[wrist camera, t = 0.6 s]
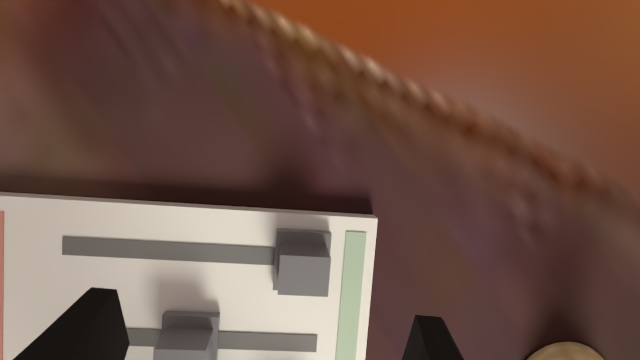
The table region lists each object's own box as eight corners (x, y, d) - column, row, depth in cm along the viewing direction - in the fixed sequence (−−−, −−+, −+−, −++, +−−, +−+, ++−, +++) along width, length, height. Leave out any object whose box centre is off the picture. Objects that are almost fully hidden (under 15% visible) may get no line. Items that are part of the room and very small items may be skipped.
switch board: (352, 450, 34) (355, 465, 33) (-14, 445, 32) (-29, 461, 30) (373, 214, 32) (378, 218, 31) (-12, 191, 30) (-29, 194, 29)
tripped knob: (217, 369, 31) (207, 402, 27) (162, 367, 31) (146, 400, 27) (220, 312, 31) (211, 337, 27) (165, 310, 30) (148, 335, 26)
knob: (325, 288, 31) (331, 310, 27) (272, 286, 31) (271, 307, 27) (330, 231, 31) (337, 244, 27) (276, 227, 30) (276, 241, 27)
